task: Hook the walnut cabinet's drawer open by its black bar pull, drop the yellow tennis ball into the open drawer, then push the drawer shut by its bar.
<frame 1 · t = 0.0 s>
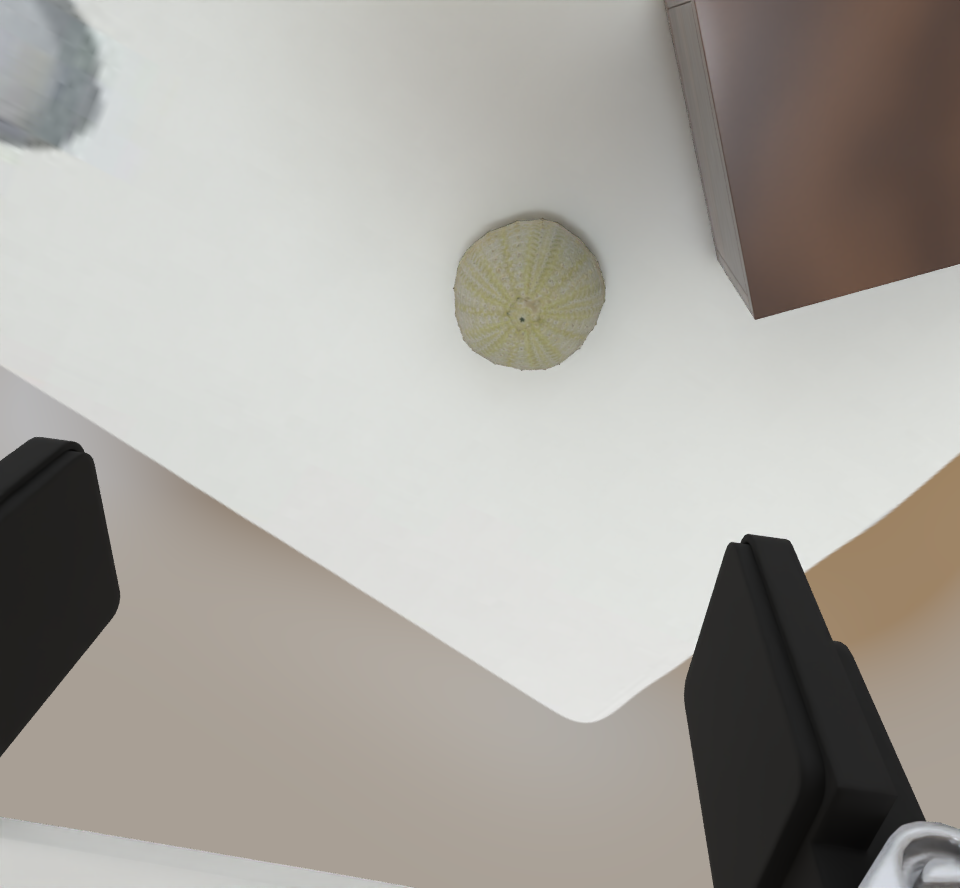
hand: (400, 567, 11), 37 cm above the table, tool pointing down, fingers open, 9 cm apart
sea urchin shell: (528, 288, 47), on the table
cabinet: (861, 78, 39), on the table
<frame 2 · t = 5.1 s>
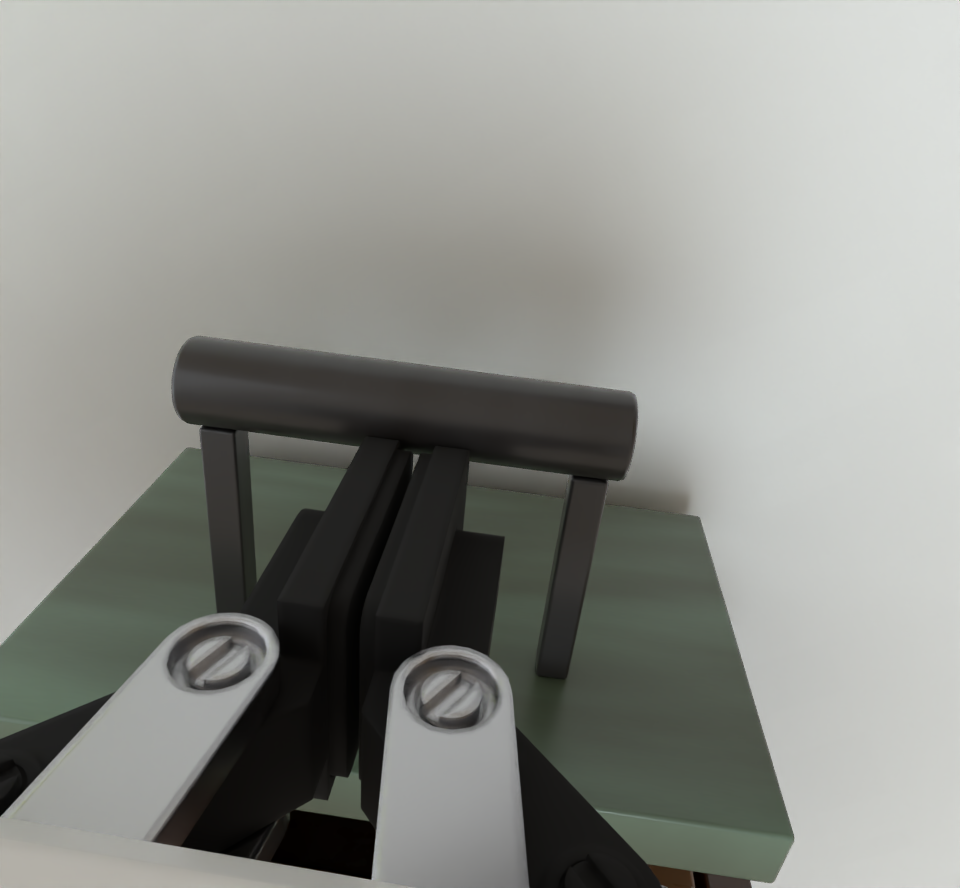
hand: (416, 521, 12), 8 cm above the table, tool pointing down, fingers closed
cabinet: (418, 764, 26), on the table
drawer: (397, 763, 18), point 5 cm above the table, slide at 2.3 cm, touching gripper
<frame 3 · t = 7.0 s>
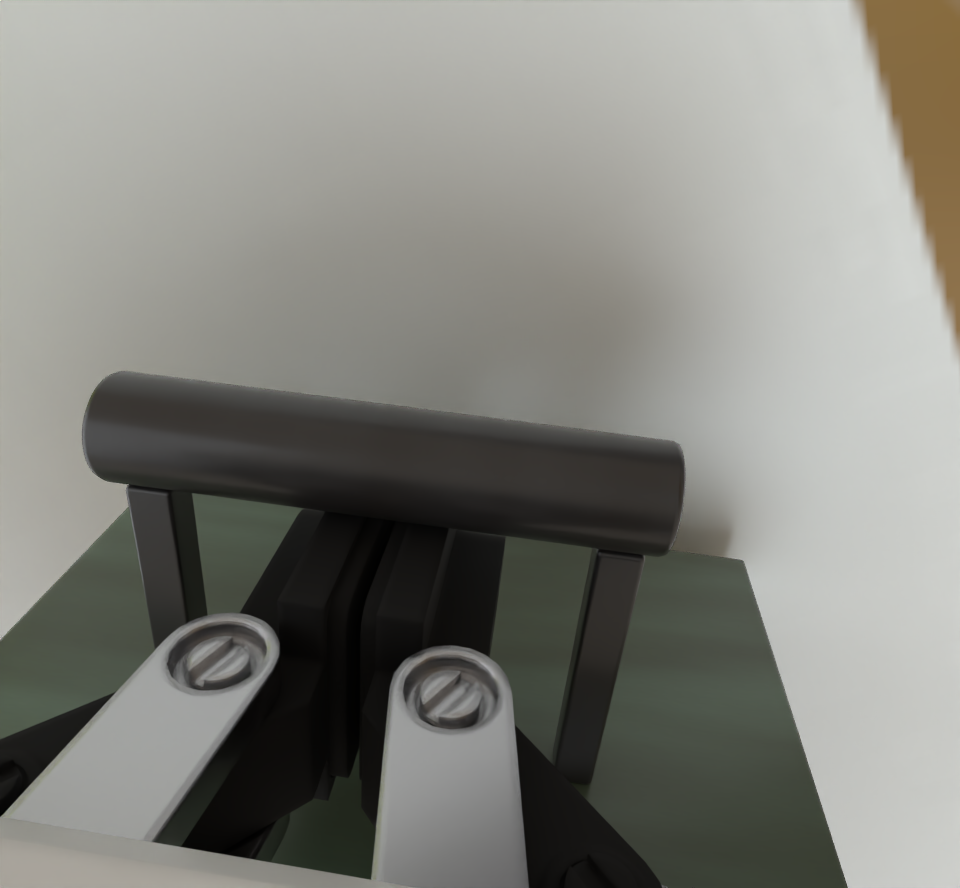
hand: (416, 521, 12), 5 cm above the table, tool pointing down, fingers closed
drawer: (393, 848, 16), point 5 cm above the table, slide at 10.6 cm, touching gripper
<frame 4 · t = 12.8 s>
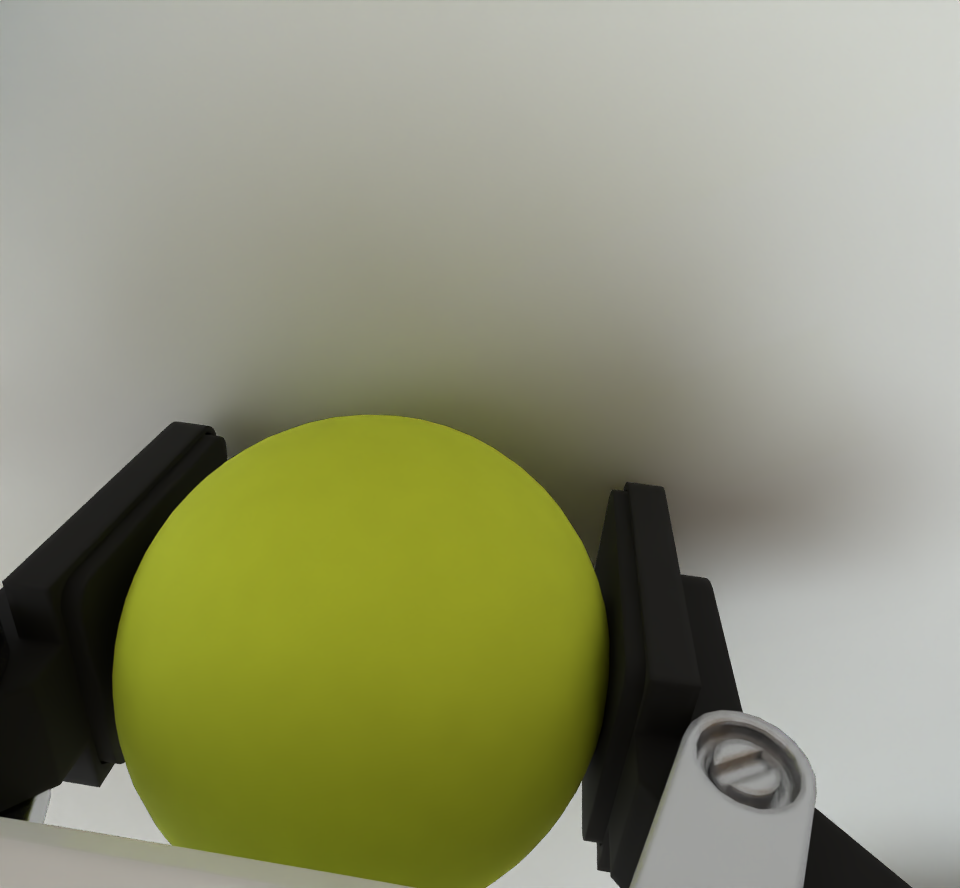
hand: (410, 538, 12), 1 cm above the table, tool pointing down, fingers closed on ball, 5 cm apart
ball: (373, 648, 9), point 3 cm above the table, touching gripper
when the fingers open (9 cm above the table, at t = 20.4 s): ball stays where it is, resting on drawer.
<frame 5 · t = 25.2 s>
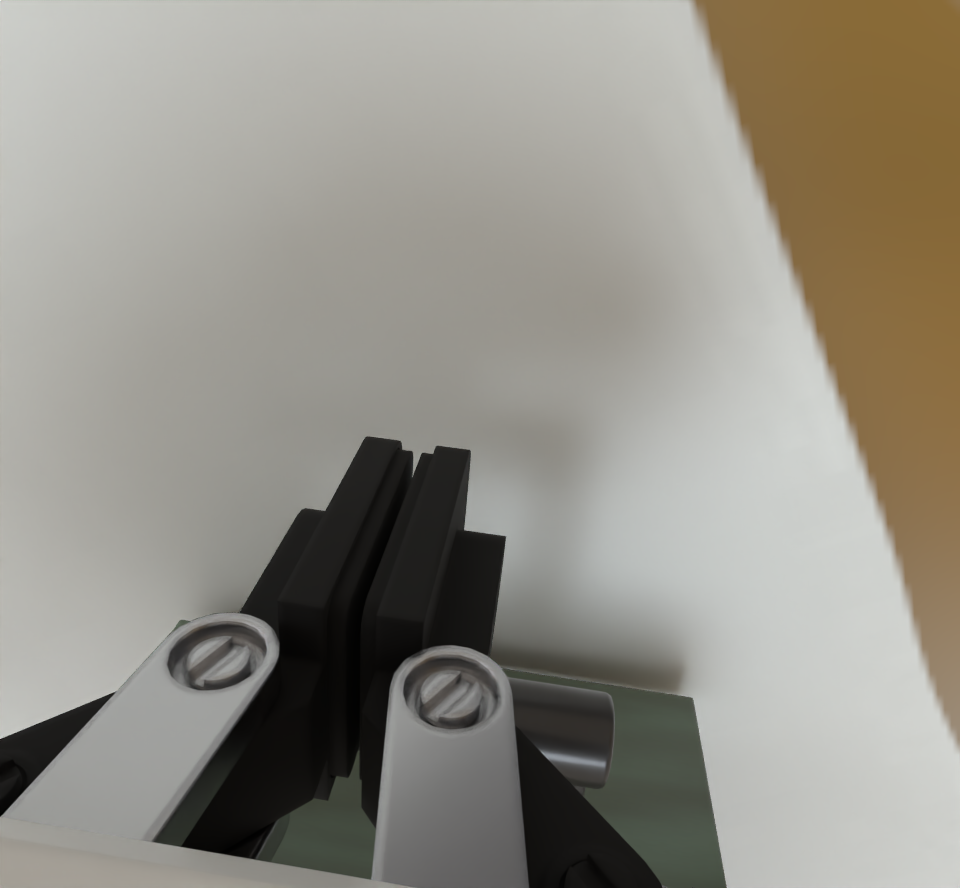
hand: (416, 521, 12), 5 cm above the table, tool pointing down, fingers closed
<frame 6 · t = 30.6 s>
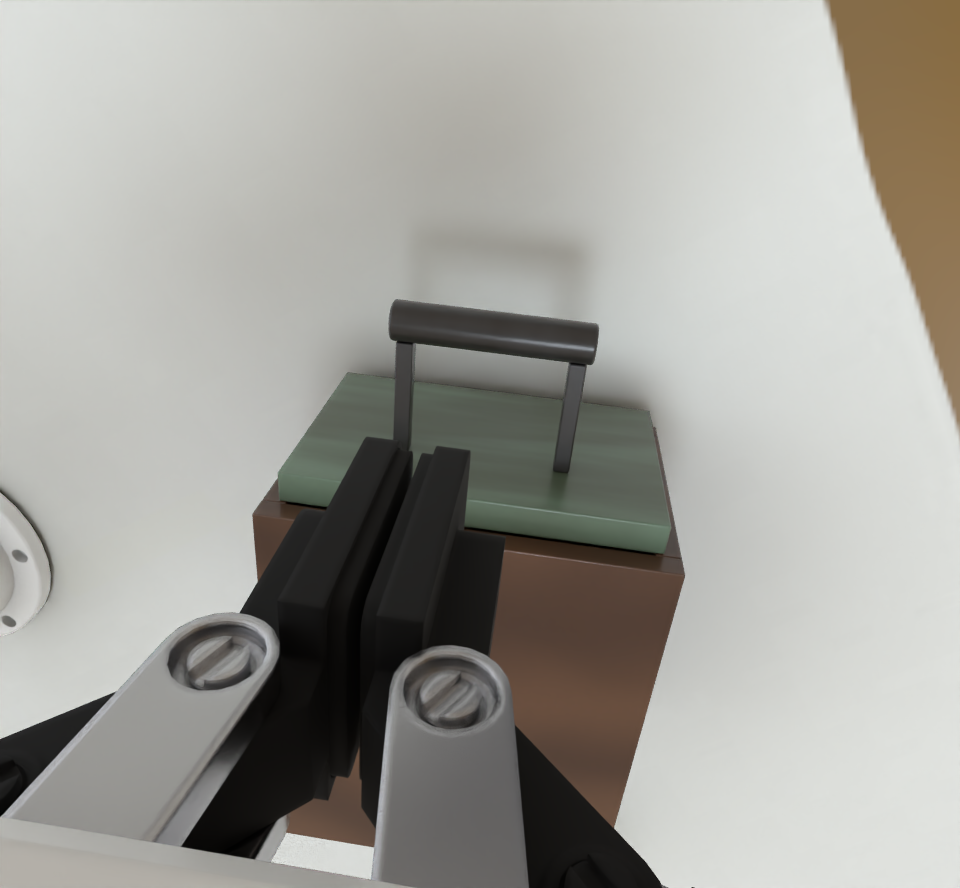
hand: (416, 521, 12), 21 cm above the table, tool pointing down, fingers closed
cabinet: (479, 557, 39), on the table
drawer: (474, 548, 32), point 5 cm above the table, slide at 0.0 cm, touching ball, cabinet
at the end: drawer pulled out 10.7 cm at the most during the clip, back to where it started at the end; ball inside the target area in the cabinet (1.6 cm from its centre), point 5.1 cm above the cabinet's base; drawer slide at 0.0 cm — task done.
